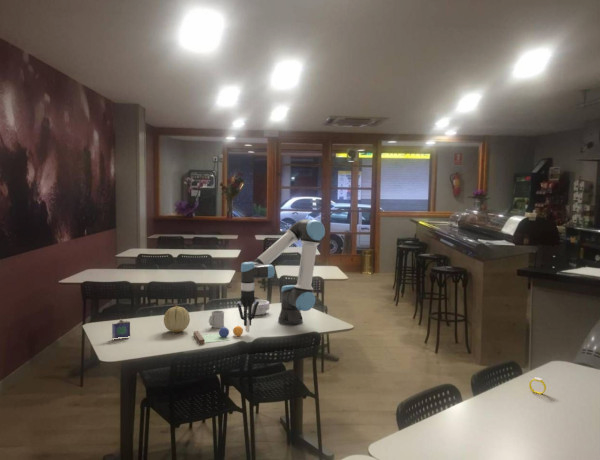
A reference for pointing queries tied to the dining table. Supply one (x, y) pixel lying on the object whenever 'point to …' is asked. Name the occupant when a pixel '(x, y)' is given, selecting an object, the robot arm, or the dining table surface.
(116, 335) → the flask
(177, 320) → the cantaloupe
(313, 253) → the robot arm
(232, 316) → the dining table surface
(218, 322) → the cup
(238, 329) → the orange ball
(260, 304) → the paper bowls
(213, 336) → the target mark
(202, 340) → the backstop rail
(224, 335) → the navy ball
